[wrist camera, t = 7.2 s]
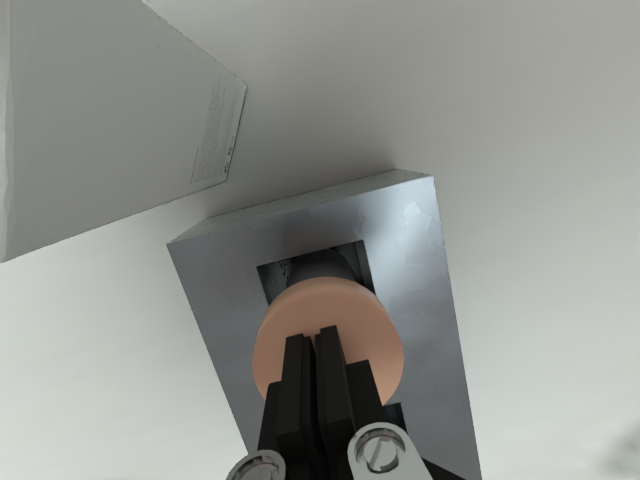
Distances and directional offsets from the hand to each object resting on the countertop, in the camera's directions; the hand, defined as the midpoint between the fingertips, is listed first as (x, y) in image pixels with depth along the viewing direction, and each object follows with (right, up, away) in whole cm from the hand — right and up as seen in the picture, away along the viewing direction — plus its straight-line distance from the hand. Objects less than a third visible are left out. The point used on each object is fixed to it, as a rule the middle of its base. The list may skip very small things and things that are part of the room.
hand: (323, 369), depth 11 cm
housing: (+1, -1, +12) cm, 12 cm away
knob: (0, +2, +7) cm, 8 cm away
